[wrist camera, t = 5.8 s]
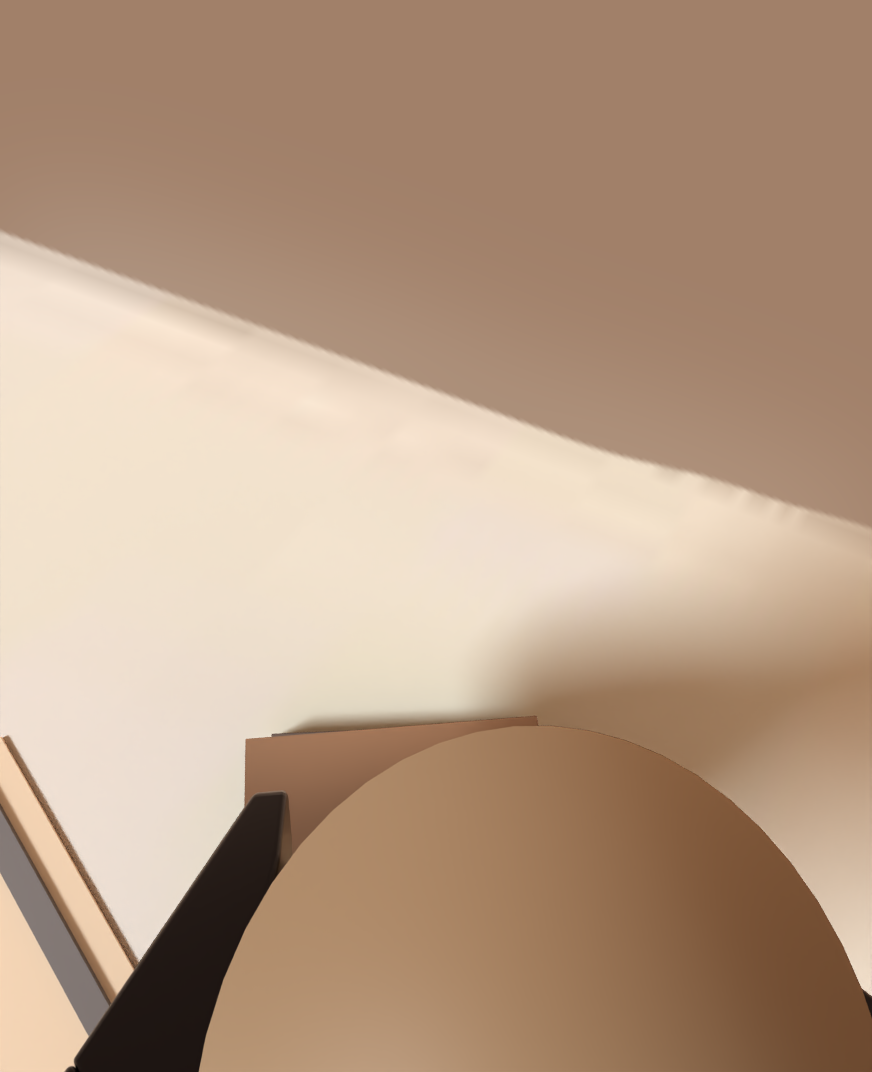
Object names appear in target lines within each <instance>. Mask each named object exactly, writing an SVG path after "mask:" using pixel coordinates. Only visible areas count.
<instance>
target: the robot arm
mask: <svg viewBox="0 0 872 1072" xmlns="http://www.w3.org/2000/svg"><path fill="white" fill-rule="evenodd" d="M291 857H292V836H291V823H290V810H289V799H288V794H287V793H286V792H285V791H283V790H280V791H268V792H258V793H256V794H254V795H253V796H252V797H251V798H250V800H249V801H248V803H247V804H246V806H245V807H244V809H243V810H242V812H241V813H240V814H239V816H238V817H237V819H236V820H235V822H234V823H233V825H232V826H231V828H230V829H229V831H228V832H227V834H226V835H225V837H224V838H223V840H222V841H221V842H220V844H219V845H218V847H217V848H216V850H215V851H214V853H213V854H212V856H211V857H210V859H209V860H208V862H207V863H206V865H205V866H204V867H203V869H202V870H201V872H200V873H199V875H198V876H197V878H196V879H195V881H194V882H193V884H192V885H191V887H190V888H189V890H188V891H187V893H186V894H185V895H184V897H183V898H182V900H181V901H180V903H179V904H178V906H177V907H176V909H175V910H174V912H173V913H172V915H171V916H170V918H169V919H168V921H167V922H166V923H165V925H164V926H163V928H162V929H161V931H160V932H159V934H158V935H157V937H156V938H155V940H154V941H153V943H152V944H151V946H150V947H149V948H148V950H147V951H146V953H145V954H144V956H143V957H142V959H141V960H140V962H139V963H138V965H137V966H136V968H135V969H134V971H133V972H132V974H131V975H130V976H129V978H128V979H127V981H126V982H125V984H124V985H123V987H122V988H121V990H120V991H119V993H118V994H117V996H116V997H115V999H114V1000H113V1002H112V1003H111V1004H110V1006H109V1007H108V1009H107V1010H106V1012H105V1013H104V1015H103V1016H102V1018H101V1019H100V1021H99V1022H98V1024H97V1025H96V1027H95V1028H94V1029H93V1031H92V1032H91V1034H90V1035H89V1037H88V1038H87V1040H86V1041H85V1043H84V1044H83V1046H82V1047H81V1049H80V1050H79V1052H78V1053H77V1055H76V1056H75V1058H74V1065H75V1067H74V1066H69V1067H68V1068H67V1069H66V1070H65V1071H64V1072H199V1068H200V1063H201V1058H202V1053H203V1048H204V1043H205V1038H206V1034H207V1031H208V1028H209V1024H210V1021H211V1018H212V1015H213V1012H214V1008H215V1005H216V1002H217V999H218V996H219V992H220V989H221V986H222V983H223V980H224V977H225V975H226V973H227V970H228V968H229V966H230V964H231V961H232V959H233V957H234V954H235V952H236V950H237V948H238V945H239V943H240V941H241V938H242V936H243V934H244V931H245V929H246V927H247V926H248V924H249V922H250V920H251V919H252V917H253V915H254V913H255V912H256V910H257V908H258V906H259V905H260V903H261V901H262V900H263V898H264V896H265V894H266V893H267V891H268V889H269V887H270V886H271V884H272V882H273V881H274V880H275V878H276V877H277V876H278V874H279V873H280V872H281V870H282V869H283V868H284V866H285V865H286V864H287V862H288V861H289V859H290V858H291ZM862 991H863V994H864V997H865V1000H866V1003H867V1006H868V1009H869V1012H870V1015H871V1018H872V996H871V995H869V994H868V993H867V992H866V991H864V990H863V989H862Z"/></svg>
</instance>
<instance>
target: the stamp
mask: <svg viewBox="0 0 872 1072" xmlns="http://www.w3.org/2000/svg"><path fill="white" fill-rule="evenodd" d="M280 790H283V791H285V792H286V793H287V794H288V799H289V810H290V823H291V836H292V857H291V858H290V859H289V861H288V862H287V864H286V865H285V866H284V868H283V869H282V870H281V872H280V873H279V874H278V876H277V877H276V878H275V880H274V881H273V882H272V884H271V886H270V887H269V889H268V891H267V893H266V894H265V896H264V898H263V900H262V901H261V903H260V905H259V906H258V908H257V910H256V912H255V913H254V915H253V917H252V919H251V920H250V922H249V924H248V926H247V927H246V929H245V931H244V934H243V936H242V938H241V941H240V943H239V945H238V948H237V950H236V952H235V954H234V957H233V959H232V961H231V964H230V966H229V968H228V970H227V973H226V975H225V977H224V980H223V983H222V986H221V989H220V992H219V996H218V999H217V1002H216V1005H215V1008H214V1012H213V1015H212V1018H211V1021H210V1024H209V1028H208V1031H207V1034H206V1038H205V1043H204V1048H203V1053H202V1058H201V1063H200V1068H199V1072H872V1018H871V1015H870V1012H869V1009H868V1006H867V1003H866V1000H865V997H864V994H863V991H862V988H861V986H860V984H859V982H858V979H857V977H856V975H855V972H854V970H853V968H852V966H851V963H850V961H849V959H848V957H847V954H846V952H845V950H844V948H843V945H842V943H841V941H840V940H839V938H838V936H837V934H836V933H835V931H834V929H833V927H832V925H831V924H830V922H829V920H828V918H827V917H826V915H825V913H824V911H823V909H822V908H821V906H820V904H819V902H818V901H817V899H816V898H815V896H814V895H813V894H812V892H811V891H810V889H809V888H808V886H807V885H806V884H805V882H804V881H803V879H802V878H801V876H800V875H799V874H798V872H797V871H796V869H795V868H794V866H793V865H792V864H791V862H790V861H789V860H788V859H787V858H786V857H785V855H784V854H783V853H782V852H781V851H780V850H779V848H778V847H777V846H776V845H775V844H774V843H773V842H772V840H771V839H770V838H769V837H768V836H767V835H766V833H765V832H764V831H763V830H762V829H761V828H760V827H759V826H758V825H757V824H756V823H755V822H754V821H752V820H751V819H750V818H749V817H748V816H747V815H746V814H745V813H744V812H743V811H742V810H741V809H740V808H738V807H737V806H736V805H735V804H734V803H733V802H732V801H731V800H730V799H728V798H727V797H726V796H724V795H723V794H722V793H720V792H719V791H718V790H716V789H715V788H714V787H712V786H711V785H709V784H708V783H707V782H705V781H704V780H703V779H701V778H700V777H699V776H697V775H696V774H694V773H692V772H690V771H689V770H687V769H685V768H683V767H682V766H680V765H678V764H676V763H675V762H673V761H671V760H669V759H667V758H666V757H664V756H662V755H660V754H658V753H655V752H653V751H650V750H648V749H645V748H643V747H641V746H638V745H636V744H633V743H631V742H628V741H626V740H622V739H619V738H615V737H611V736H607V735H604V734H600V733H596V732H592V731H588V730H580V729H572V728H565V727H557V726H538V721H537V716H528V717H516V718H503V719H491V720H478V721H466V722H453V723H441V724H428V725H416V726H403V727H390V728H378V729H365V730H353V731H340V732H328V733H315V734H303V735H290V736H278V737H265V738H252V739H246V750H245V806H246V804H247V803H248V801H249V800H250V798H251V797H252V796H253V795H254V794H256V793H258V792H268V791H280Z"/></svg>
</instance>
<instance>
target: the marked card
mask: <svg viewBox="0 0 872 1072" xmlns="http://www.w3.org/2000/svg"><path fill="white" fill-rule="evenodd" d="M133 971H134V967H133V966H132V964H131V962H130V960H129V959H128V957H127V955H126V953H125V952H124V950H123V948H122V946H121V945H120V943H119V941H118V939H117V938H116V936H115V934H114V932H113V931H112V929H111V927H110V925H109V924H108V922H107V920H106V918H105V917H104V915H103V913H102V911H101V909H100V908H99V906H98V904H97V902H96V901H95V899H94V897H93V895H92V894H91V892H90V890H89V888H88V887H87V885H86V883H85V881H84V880H83V878H82V876H81V874H80V873H79V871H78V869H77V867H76V866H75V864H74V862H73V860H72V859H71V857H70V855H69V853H68V852H67V850H66V848H65V846H64V845H63V843H62V841H61V839H60V838H59V836H58V834H57V832H56V831H55V829H54V827H53V825H52V824H51V822H50V820H49V818H48V817H47V815H46V813H45V811H44V810H43V808H42V806H41V804H40V803H39V801H38V799H37V797H36V796H35V794H34V792H33V790H32V789H31V787H30V785H29V783H28V782H27V780H26V778H25V776H24V775H23V773H22V771H21V769H20V768H19V766H18V764H17V762H16V760H15V759H14V757H13V755H12V753H11V752H10V750H9V748H8V746H7V745H6V743H5V741H4V739H3V738H2V737H0V1072H64V1071H65V1070H66V1069H67V1068H68V1067H69V1066H74V1067H75V1065H74V1058H75V1056H76V1055H77V1053H78V1052H79V1050H80V1049H81V1047H82V1046H83V1044H84V1043H85V1041H86V1040H87V1038H88V1037H89V1035H90V1034H91V1032H92V1031H93V1029H94V1028H95V1027H96V1025H97V1024H98V1022H99V1021H100V1019H101V1018H102V1016H103V1015H104V1013H105V1012H106V1010H107V1009H108V1007H109V1006H110V1004H111V1003H112V1002H113V1000H114V999H115V997H116V996H117V994H118V993H119V991H120V990H121V988H122V987H123V985H124V984H125V982H126V981H127V979H128V978H129V976H130V975H131V974H132V972H133Z"/></svg>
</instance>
